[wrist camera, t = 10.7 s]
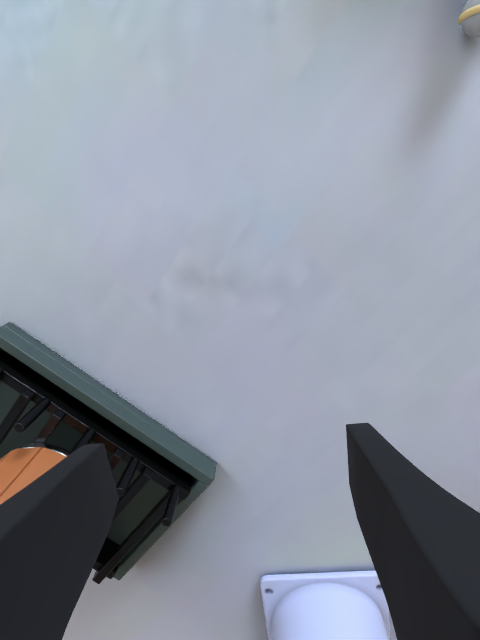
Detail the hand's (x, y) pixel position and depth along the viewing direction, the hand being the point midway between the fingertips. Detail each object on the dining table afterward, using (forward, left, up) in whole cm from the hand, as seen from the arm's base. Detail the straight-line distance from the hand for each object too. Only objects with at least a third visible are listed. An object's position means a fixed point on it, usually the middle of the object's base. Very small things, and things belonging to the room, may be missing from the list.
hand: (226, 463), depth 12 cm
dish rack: (-6, +11, -10) cm, 16 cm away
